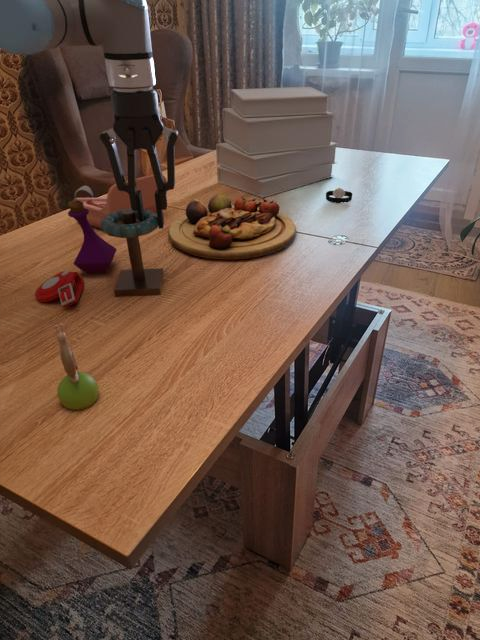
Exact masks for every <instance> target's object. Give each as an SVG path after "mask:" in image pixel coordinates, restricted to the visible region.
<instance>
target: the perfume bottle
mask: <svg viewBox="0 0 480 640" xmlns="http://www.w3.org/2000/svg"><path fill="white" fill-rule="evenodd" d="M79 191H85V192H87V193H88V194H89V195H90V196H91V198H94V192H93V191H92V189H91V188H90V187H89V186H88V185H82V186H81V187H79V188H77V189H76V191H75V192H74V198H75V200H74V199H73V200H70V201H69V202H68V203H67V206H68V208H69V210H68V212H67V215H68V217H69V218H73V219H74V220H75V221H76V222H77V223H78V224H79V227H80V229H81V230H82V234H83V242H82V243H81V247H80V250H79V251H78V254H77V255H76V257H75V259H74V261H73V266H75V267H76V268H78V269H80V271H82V272H83V273H85V274H86V275H105V274H107V273H108V271H109V269H110V267H111V265H112V262H113V260H114V257H115V255H116V252H117V248H116V247H115V246H113V245H112V244H110V243H109V242H107V241H106V240H104V239H103V238H102V237H101V236H100V235H99V234H98V233H97V232H96V231H95V229H94V227H93V226H91V225H90V224H89V222H88V220H87V214H88V213H89V211H88V209H86V208H84V205H83V202H81V201H79V200H76V198H77V197H76V196H77V194H78V192H79Z"/></svg>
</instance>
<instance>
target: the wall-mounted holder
mask: <svg viewBox="0 0 480 640" xmlns="http://www.w3.org/2000/svg"><path fill="white" fill-rule="evenodd" d="M163 178H164V182H167V178H166V176H165V175H164V174H163ZM125 181H126V183H128V180H125ZM136 185H137V188H136V190H141V194H142V201H143V208H144V209H147V210H151V211H153V212H154V213H156V214H157V210H156V202H155V195H154V194H155V191H156V190H158V189H157V185H156V182H155V178H154V174H153V173H152V174H149V175H146V176H141V177H136ZM167 192H168V191H167ZM167 192H166V195H167V194H168V193H167ZM106 195H107V196H106V197H74V198H73V200H75V198H76V200H79V201H81V202H83V205H84V208H86V209H88V211H89V213H88V214H87V220H88V222H89V224H90V225H91V227H93V228H94V227H95V228H98V229H101V226H100V225H101V222H102V220H103V218H104V217H105V216H106V215H108V214H110V213H112V212H115V211H119V210H124V209H131V203H130V197H129V194H128V193H127V192H125V191H119V190H118V188H117V185H116V183H114V184H112V185H111V186H110V187H109V188H108V190H107V194H106ZM120 224H121V225H122V224H123V223H120Z"/></svg>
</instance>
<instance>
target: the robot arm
mask: <svg viewBox="0 0 480 640" xmlns="http://www.w3.org/2000/svg"><path fill="white" fill-rule="evenodd" d="M79 46H80V47H83V46H86V47H87V46H89V47H90V46H92V47H97V46H98V47H99V46H101V47H102V50H103V51H102V52H103V57H104V62H105V64H104V65H105V71H106V77H107V83H108V86H109V87H110V88H112V90H111V91H110V93H109V94H110V101H111V106H112V113H113V117H114V118H113V124H112V127H111V128H109V129H108V130H103V131H102V132H101V133H100V134H99V139H100V141H101V142H102V144H103V145H104V147H105V148H106V152H107V155H108V159H109V162H110V166H111V170H112V174H113V177H114V181H115V184H116V185H117V188H118V190H119V191H125V192H127V193H128V194H129V197H130V203H131V209H132V210H133V211H138V218H139V221H138V223H139V222H142V221H144V220H145V214H144V208H143V201H142V194H141V190H136V188H137V185H136V178H137V151H138V150H139V149H141V150H146V153H147V156H148V158H149V163H150V166H151V170H152V175H153V174H154V178H155V182H156V185H157V189H158V190H156V191H155V194H154V195H155V202H156V210H157V218H158V229H159V230H161V229H162V230H163V229H164V225H165V220H164V211H167V209H168V196H167V194H166V192H168V191H172V190H174V189H175V185H176V142H177V139H178V137H179V131H178V130H177V129H171V128H169V127H167V126H165V125H164V122H163V120H162V119H161V116H160V115H161V114H160V108H159V98H158V91H157V90H156V89H155V88H154V87H155V86H156V84H157V82H156V81H157V80H156V73H155V72H156V70H155V62H154V57H153V49H152V38H151V27H150V18H149V6H148V3H147V0H0V49H1V50H3V51H5V52H7V53H9V54H14V55H23V56H32V55H36V54H38V53H40V52H43V51H46V50H47V51H48V50H51V49H58V48H62V47H79ZM162 134H163V139H164V141H165V142H166V143H167V144H166V176H167V178H166V180H167V182H164V178H163V175H164V174H163V171H162V167H161V163H160V158H159V155H158V150H157V145H156V144H157V142H158V141H159V138H160V137H161V135H162ZM116 136H117V137H118V138H119V139H120V140H121V141H122V143H124V145H125V146H126V155H127V159H126V161H127V180H126V177H125V174H124V171H123V167H122V163H121V159H120V155H119V151H118V147H117V145H116V141H117V137H116ZM126 181H128V183H126Z"/></svg>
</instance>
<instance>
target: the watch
mask: <svg viewBox="0 0 480 640" xmlns="http://www.w3.org/2000/svg"><path fill="white" fill-rule="evenodd" d="M352 198H353V193H352V192H351V191H348V190H344V188H342V187H337V188H335V189H334V190H328V191H326V192H325V200H326V201H327V202H330V203H334V202H336V203H335V204H345V203H344V202H346V203H349V202H351V201H352V200H353V199H352ZM341 202H343V203H341Z"/></svg>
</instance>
